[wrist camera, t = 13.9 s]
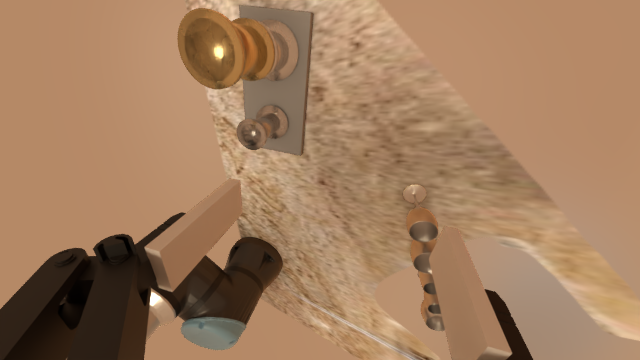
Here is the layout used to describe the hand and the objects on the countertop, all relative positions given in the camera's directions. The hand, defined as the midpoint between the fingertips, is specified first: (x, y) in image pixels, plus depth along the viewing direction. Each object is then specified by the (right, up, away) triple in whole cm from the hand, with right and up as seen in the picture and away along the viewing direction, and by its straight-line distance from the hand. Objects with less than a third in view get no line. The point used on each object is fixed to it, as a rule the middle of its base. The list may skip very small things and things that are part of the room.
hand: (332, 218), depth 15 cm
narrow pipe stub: (-10, +14, +30) cm, 35 cm away
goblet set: (+22, -10, +37) cm, 44 cm away
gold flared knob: (-11, +21, +18) cm, 29 cm away
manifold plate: (-9, +20, +29) cm, 36 cm away
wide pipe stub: (-9, +24, +25) cm, 36 cm away
